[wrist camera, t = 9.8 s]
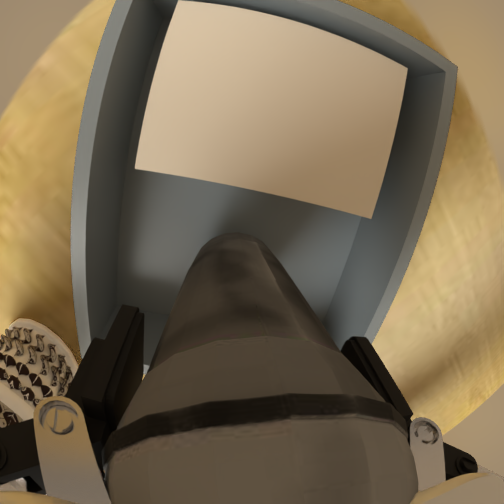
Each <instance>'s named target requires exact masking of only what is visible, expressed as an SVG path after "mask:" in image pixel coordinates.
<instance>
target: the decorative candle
mask: <svg viewBox="0 0 504 504" xmlns="http://www.w3.org/2000/svg"><path fill="white" fill-rule="evenodd" d="M5 334H6V336H5V335H1V339H0V428H3V427H6V426H9V425H13V424H16V423H19V422H22V421H26V420H29V419H32V418H33V416H34V410H35V408H36V406H37V404H38V403H39V402H40V401H41V400H43V399H45V398H47V397H51V396H63V397H65V395H66V393H67V391H68V389H69V387H70V384H71V382H72V380H73V378H74V376H75V374H76V372H77V369H78V364H77V362H76V360H75V358H74V356H73V353H72V351H71V350H70V349H69V348H68V347H67V345H66V344H65V343H64V342H63V341H62V339H61V338H60V337H59V336H58V335H56V334H55V333H54V332H53V331H51V330H50V329H49V328H47V327H46V326H45V325H43V324H41V323H38V322H36V321H34V320H32V319H23V318H18V319H17V320H15V321H14V322H12V323H11V324H10V326H9V329H6V330H5Z"/></svg>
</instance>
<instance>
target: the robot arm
mask: <svg viewBox="0 0 504 504" xmlns="http://www.w3.org/2000/svg"><path fill="white" fill-rule="evenodd" d="M144 317H145V315H144V313H141V312H139V308H138V307H134V306H129V305H124V304H123V305H122V306H121V308H120V310H119V312H118V314H117V316H116V318H115V320H114V322H113V324H112V326H111V328H110V330H109V332H108V334H107V336H106V338H105V340H104V339H100V338H96V337H95V338H93V340H92V341H91V343H90V345H89V347H88V349H87V351H86V353H85V355H84V357H83V359H82V361H81V363H80V365H79V367H78V369H77V372H76V374H75V376H74V378H73V380H72V382H71V384H70V387H69V389H68V391H67V393H66V395H65V397H63V396H51V397H47V398H45V399H43V400H41V401H40V402H39V403H38V404H37V406H36V408H35V410H34V416H33V418H32V419H29V420H26V421H22V422H19V423H16V424H13V425H9V426H6V427H3V428H0V504H111V501H110V498H109V495H108V492H107V489H106V485H105V482H104V477H105V471H104V469H103V466H102V449H103V448H104V446H105V444H106V442H107V440H108V438H109V436H110V435H111V433H112V432H113V431H115V430H116V429H117V426H118V424H119V422H120V421H121V419H122V417H123V415H124V413H125V411H126V409H127V407H128V406H129V404H130V402H131V400H132V398H133V396H134V394H135V393H136V391H137V389H138V387H139V386H140V384H141V382H142V378H143V372H144ZM341 353H342V354H343V355H344V356H345V357H346V358H347V359H348V360H349V361H350V363H351V364H352V365H353V366H354V367H355V368H356V369H357V370H358V371H359V372H360V373H361V374H362V376H363V377H364V378H365V379H366V380H367V381H368V382H369V383H370V384H371V386H372V387H373V388H374V389H375V390H376V391H377V392H378V393H379V394H380V396H381V397H382V398H383V399H384V400H385V402H386V403H390V404H391V405H392V406H393V407H394V408H395V409H396V410H397V411H398V412H399V413H400V414H401V416H402V417H403V418H404V419H405V421H406V425H407V431H408V439H407V441H408V444H409V446H410V449H411V451H412V454H413V456H414V460H415V465H416V470H417V476H418V493H416V494H415V496H414V497H413V499H412V500H411V502H410V504H504V477H502V476H500V475H498V474H496V473H494V472H492V471H490V470H488V469H486V468H484V467H482V466H480V465H478V466H477V463H476V461H475V459H474V458H473V457H472V456H471V455H470V454H468V453H466V452H464V451H462V450H459V449H457V448H455V447H453V446H451V445H448V444H446V443H444V442H443V440H442V433H441V430H440V429H439V427H438V426H437V425H436V424H435V423H434V422H433V421H431V420H430V419H427V418H422V417H420V418H416V419H414V420H413V421H411V419H410V418H411V416H412V415H413V412H412V411H411V409H410V407H409V405H408V404H407V402H406V400H405V399H404V397H403V395H402V394H401V392H400V390H399V388H398V387H397V385H396V384H395V382H394V380H393V379H392V377H391V375H390V374H389V372H388V370H387V369H386V367H385V365H384V364H383V362H382V361H381V359H380V357H379V356H378V354H377V353H376V351H375V349H374V348H373V346H372V345H371V343H370V342H369V340H368V339H367V338H366V337H359V336H352V337H350V338H349V340H346V341H345V343H344V345H343V347H342V349H341ZM46 494H47V495H46Z"/></svg>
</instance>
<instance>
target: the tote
mask: <svg viewBox="0 0 504 504" xmlns="http://www.w3.org/2000/svg"><path fill="white" fill-rule="evenodd" d="M182 1H194V2H203V3H212V4H219V5H226V6H232V7H237V8H243V9H248V10H253V11H258V12H262V13H266V14H270V15H274V16H278V17H282V18H286V19H289V20H293V21H296V22H300V23H303V24H306V25H309V26H312V27H315V28H318V29H321V30H324V31H327V32H330V33H332V34H335V35H337V36H340V37H343V38H345V39H348V40H350V41H352V42H355V43H357V44H359V45H362V46H364V47H366V48H368V49H371V50H373V51H375V52H377V53H379V54H381V55H383V56H385V57H387V58H389V59H391V60H393V61H395V62H397V63H399V64H401V65H403V66H404V67H406V68H408V70H407V76H406V82H405V88H404V93H403V99H402V104H401V109H400V113H399V118H398V123H397V127H396V131H395V136H394V140H393V144H392V148H391V152H390V156H389V160H388V164H387V167H386V171H385V175H384V178H383V182H382V185H381V189H380V192H379V196H378V199H377V202H376V205H375V209H374V212H373V215H372V218H371V219H369V218H366V217H362V216H358V215H355V214H351V213H347V212H344V211H340V210H336V209H332V208H328V207H324V206H320V205H316V204H312V203H308V202H304V201H300V200H296V199H291V198H287V197H283V196H278V195H274V194H269V193H265V192H260V191H255V190H251V189H246V188H241V187H236V186H231V185H226V184H221V183H216V182H211V181H205V180H200V179H194V178H189V177H183V176H177V175H171V174H165V173H159V172H153V171H146V170H139V169H135V163H136V157H137V151H138V145H139V140H140V134H141V129H142V124H143V120H144V115H145V110H146V106H147V101H148V97H149V93H150V89H151V85H152V81H153V77H154V74H155V70H156V66H157V63H158V59H159V56H160V52H161V49H162V46H163V43H164V40H165V36H166V33H167V30H168V27H169V25H170V22H171V19H172V16H173V13H174V11H175V8H176V5H177V3H178V0H116V2H115V4H114V7H113V9H112V12H111V14H110V17H109V20H108V22H107V25H106V28H105V31H104V33H103V36H102V39H101V42H100V46H99V49H98V52H97V55H96V59H95V62H94V66H93V69H92V73H91V77H90V81H89V85H88V89H87V93H86V98H85V103H84V107H83V112H82V118H81V123H80V129H79V135H78V142H77V149H76V157H75V166H74V176H73V188H72V204H71V271H72V288H73V300H74V310H75V319H76V327H77V334H78V341H79V347H80V353H81V358H82V359H83V357H84V355H85V353H86V351H87V349H88V347H89V345H90V343H91V341H92V340H93V338H95V337H96V338H100V339H104V340H105V338H106V336H107V334H108V332H109V330H110V328H111V326H112V324H113V322H114V320H115V318H116V316H117V314H118V312H119V310H120V308H121V306H122V305H123V304H124V305H129V306H134V307H138V308H139V312H141V313H144V315H145V317H144V372H143V374H145V375H146V374H147V371H148V369H149V366H150V363H151V361H152V358H153V356H154V353H155V350H156V348H157V345H158V343H159V340H160V337H161V335H162V332H163V330H164V327H165V325H166V322H167V320H168V317H169V315H170V312H171V310H172V308H173V305H174V303H175V300H176V298H177V295H178V293H179V291H180V288H181V286H182V284H183V281H184V279H185V277H186V274H187V272H188V270H189V268H190V266H191V265H192V263H193V261H194V259H195V257H196V256H197V254H198V252H199V250H200V249H201V247H202V246H203V245H205V244H206V243H207V242H208V241H209V240H211V239H212V238H214V237H217V236H219V235H222V234H224V233H235V232H239V233H244V234H249V235H252V236H254V237H255V238H257V239H259V240H261V241H262V242H263V243H264V244H265V245H266V246H267V247H268V248H269V249H270V251H271V252H272V253H273V254H274V255H275V257H276V258H277V259H278V260H279V261H280V263H281V264H282V265H283V267H284V268H285V270H286V271H287V273H288V274H289V276H290V277H291V279H292V280H293V282H294V283H295V284H296V286H297V287H298V289H299V290H300V292H301V293H302V295H303V296H304V298H305V299H306V301H307V302H308V304H309V305H310V307H311V308H312V310H313V311H314V312H315V314H316V315H317V317H318V318H319V320H320V321H321V323H322V324H323V326H324V327H325V329H326V330H327V332H328V333H329V335H330V336H331V338H332V339H333V341H334V342H335V344H336V345H337V347H338V348H339V350H340V351H341V349H342V347H343V345H344V343H345V341H346V340H349V338H350V337H352V336H359V337H366V338H367V339H368V340H369V342H370V343H371V344H372V342H373V340H374V338H375V337H376V335H377V333H378V331H379V329H380V327H381V325H382V323H383V321H384V319H385V317H386V315H387V313H388V310H389V308H390V306H391V304H392V302H393V300H394V298H395V295H396V293H397V291H398V289H399V286H400V284H401V282H402V279H403V277H404V275H405V272H406V270H407V267H408V265H409V262H410V260H411V257H412V255H413V252H414V249H415V247H416V244H417V241H418V239H419V236H420V233H421V230H422V227H423V224H424V221H425V218H426V215H427V212H428V209H429V206H430V203H431V199H432V196H433V193H434V189H435V186H436V182H437V178H438V175H439V171H440V167H441V163H442V159H443V155H444V150H445V146H446V141H447V136H448V131H449V126H450V121H451V115H452V109H453V102H454V95H455V88H456V79H457V69H458V67H457V66H456V65H455V64H453V63H452V62H451V61H449V60H448V59H446V58H445V57H443V56H442V55H441V54H439V53H438V52H436V51H435V50H433V49H432V48H430V47H428V46H427V45H425V44H424V43H422V42H421V41H419V40H417V39H416V38H414V37H412V36H411V35H409V34H407V33H405V32H404V31H402V30H400V29H398V28H396V27H394V26H393V25H391V24H389V23H387V22H385V21H383V20H381V19H379V18H377V17H375V16H373V15H371V14H368V13H366V12H364V11H362V10H360V9H357V8H355V7H353V6H350V5H348V4H345V3H343V2H340V1H338V0H182Z"/></svg>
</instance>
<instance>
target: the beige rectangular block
mask: <svg viewBox="0 0 504 504" xmlns="http://www.w3.org/2000/svg"><path fill="white" fill-rule="evenodd" d="M407 70H408V68H406V67H404V66H403V65H401V64H399V63H397V62H395V61H393V60H391V59H389V58H387V57H385V56H383V55H381V54H379V53H377V52H375V51H373V50H371V49H368V48H366V47H364V46H362V45H359V44H357V43H355V42H352V41H350V40H348V39H345V38H343V37H340V36H337V35H335V34H332V33H330V32H327V31H324V30H321V29H318V28H315V27H312V26H309V25H306V24H303V23H300V22H296V21H293V20H289V19H286V18H282V17H278V16H274V15H270V14H266V13H262V12H258V11H253V10H248V9H243V8H237V7H232V6H226V5H219V4H212V3H203V2H194V1H182V0H178V3H177V5H176V8H175V11H174V13H173V16H172V19H171V22H170V25H169V27H168V30H167V33H166V36H165V40H164V43H163V46H162V49H161V52H160V56H159V59H158V63H157V66H156V70H155V74H154V77H153V81H152V85H151V89H150V93H149V97H148V101H147V106H146V110H145V115H144V120H143V124H142V129H141V134H140V140H139V145H138V151H137V157H136V163H135V169H139V170H146V171H153V172H159V173H165V174H171V175H177V176H183V177H189V178H194V179H200V180H205V181H211V182H216V183H221V184H226V185H231V186H236V187H241V188H246V189H251V190H255V191H260V192H265V193H269V194H274V195H278V196H283V197H287V198H291V199H296V200H300V201H304V202H308V203H312V204H316V205H320V206H324V207H328V208H332V209H336V210H340V211H344V212H347V213H351V214H355V215H358V216H362V217H366V218H369V219H371V218H372V215H373V212H374V209H375V205H376V202H377V199H378V196H379V192H380V189H381V185H382V182H383V178H384V175H385V171H386V167H387V164H388V160H389V156H390V152H391V148H392V144H393V140H394V136H395V131H396V127H397V123H398V118H399V113H400V109H401V104H402V99H403V93H404V88H405V82H406V76H407Z"/></svg>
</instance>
